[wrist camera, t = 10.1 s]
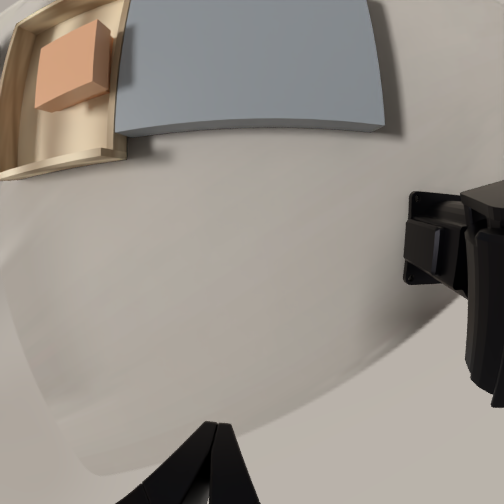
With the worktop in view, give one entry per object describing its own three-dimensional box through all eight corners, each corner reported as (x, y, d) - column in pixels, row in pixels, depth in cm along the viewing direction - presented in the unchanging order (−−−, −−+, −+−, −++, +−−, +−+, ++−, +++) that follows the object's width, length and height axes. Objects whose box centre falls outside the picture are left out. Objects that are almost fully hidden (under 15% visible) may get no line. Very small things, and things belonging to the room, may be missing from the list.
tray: (143, -8, 15) (127, -29, 11) (126, 159, 18) (100, 155, 15) (37, 34, 15) (16, 24, 12) (17, 180, 19) (-10, 181, 15)
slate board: (352, -6, 14) (360, -23, 12) (371, 132, 17) (385, 125, 14) (145, 3, 15) (133, -12, 13) (132, 137, 18) (114, 132, 15)
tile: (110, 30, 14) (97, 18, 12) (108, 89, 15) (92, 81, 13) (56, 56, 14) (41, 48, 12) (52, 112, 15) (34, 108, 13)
